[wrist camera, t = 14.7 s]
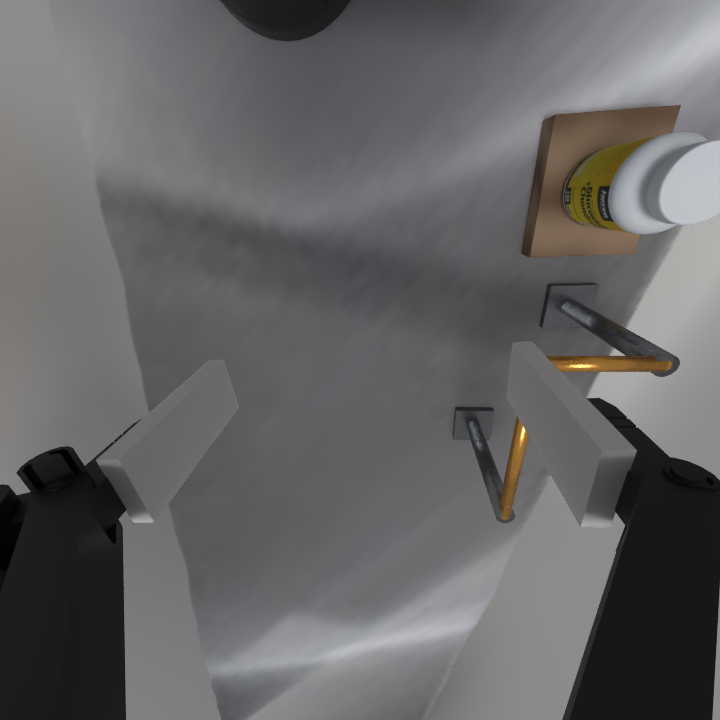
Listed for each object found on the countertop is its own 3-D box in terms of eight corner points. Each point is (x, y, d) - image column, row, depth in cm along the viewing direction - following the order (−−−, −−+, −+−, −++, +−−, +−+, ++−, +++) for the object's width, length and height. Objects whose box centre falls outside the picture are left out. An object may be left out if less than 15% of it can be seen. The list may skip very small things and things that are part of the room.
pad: (543, 120, 30) (555, 114, 28) (659, 112, 29) (680, 105, 27) (521, 253, 36) (529, 257, 33) (618, 250, 35) (634, 253, 32)
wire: (467, 286, 38) (511, 339, 24) (595, 283, 36) (724, 337, 22) (452, 435, 48) (478, 536, 33) (553, 437, 46) (624, 543, 32)
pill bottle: (553, 170, 30) (637, 155, 20) (631, 132, 28) (768, 94, 18) (567, 237, 32) (648, 256, 22) (640, 207, 31) (765, 211, 20)
